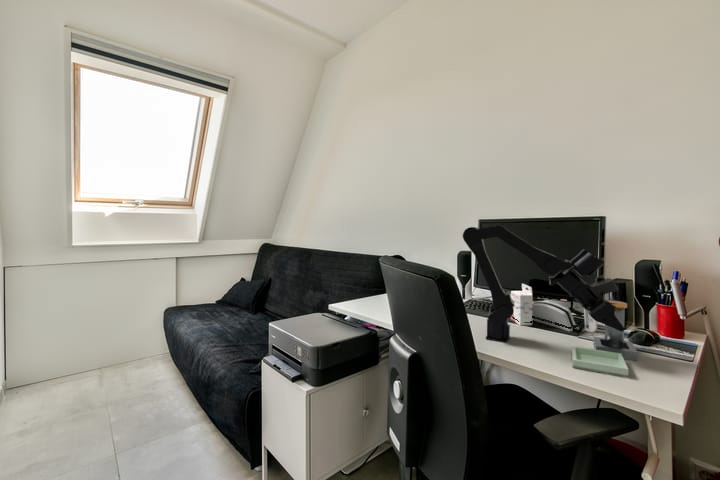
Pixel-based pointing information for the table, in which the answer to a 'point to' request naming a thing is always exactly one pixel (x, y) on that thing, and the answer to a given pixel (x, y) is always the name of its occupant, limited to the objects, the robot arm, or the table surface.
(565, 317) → the grey arched block
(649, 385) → the table surface
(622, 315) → the grey and gold cylinder
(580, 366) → the tray
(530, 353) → the table surface
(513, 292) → the ink cartridge box
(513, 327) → the table surface
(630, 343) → the frame
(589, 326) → the milkshake
